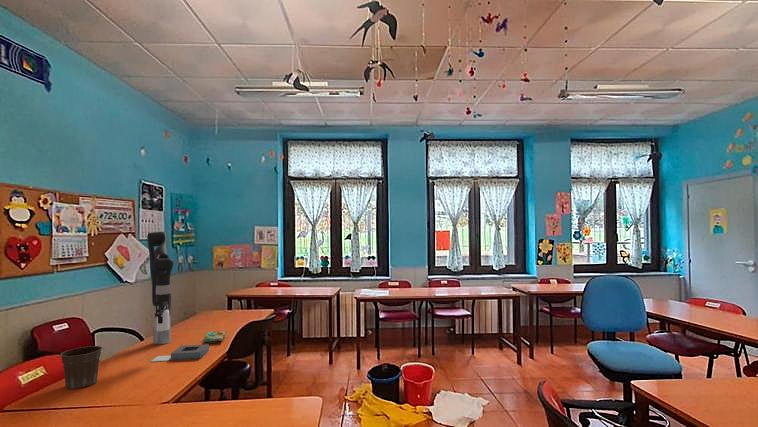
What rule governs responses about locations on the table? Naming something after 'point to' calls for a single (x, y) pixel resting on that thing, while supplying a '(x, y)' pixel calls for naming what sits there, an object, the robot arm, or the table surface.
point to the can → (165, 324)
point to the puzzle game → (214, 337)
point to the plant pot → (81, 366)
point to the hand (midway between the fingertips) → (162, 321)
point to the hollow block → (189, 352)
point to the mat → (161, 358)
